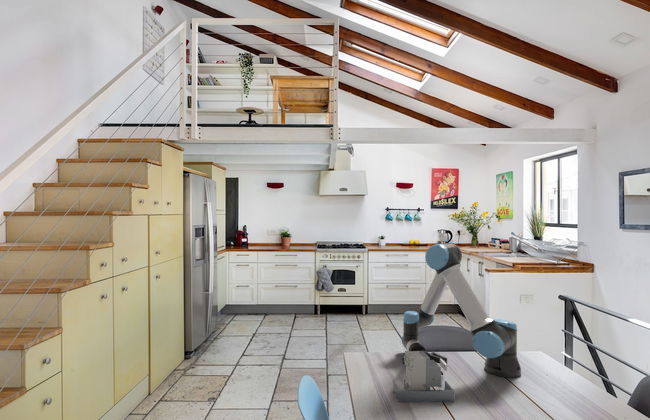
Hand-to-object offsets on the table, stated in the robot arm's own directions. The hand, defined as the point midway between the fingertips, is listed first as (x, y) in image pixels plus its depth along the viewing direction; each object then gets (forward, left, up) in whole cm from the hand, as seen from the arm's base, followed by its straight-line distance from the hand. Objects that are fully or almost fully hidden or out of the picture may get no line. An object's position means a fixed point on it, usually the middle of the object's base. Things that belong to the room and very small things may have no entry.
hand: (430, 367), depth 159 cm
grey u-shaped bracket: (+7, +12, -6) cm, 15 cm away
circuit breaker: (+5, +9, -6) cm, 12 cm away
